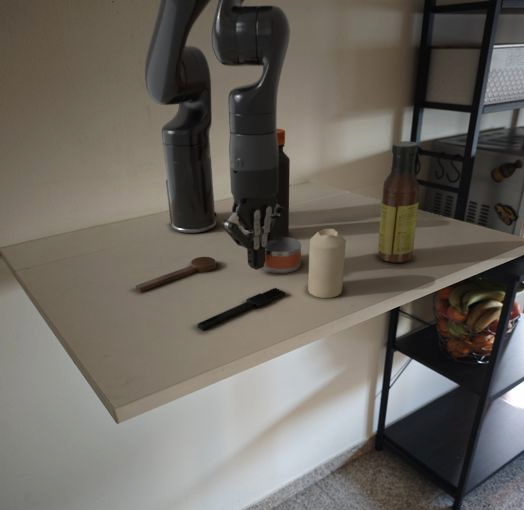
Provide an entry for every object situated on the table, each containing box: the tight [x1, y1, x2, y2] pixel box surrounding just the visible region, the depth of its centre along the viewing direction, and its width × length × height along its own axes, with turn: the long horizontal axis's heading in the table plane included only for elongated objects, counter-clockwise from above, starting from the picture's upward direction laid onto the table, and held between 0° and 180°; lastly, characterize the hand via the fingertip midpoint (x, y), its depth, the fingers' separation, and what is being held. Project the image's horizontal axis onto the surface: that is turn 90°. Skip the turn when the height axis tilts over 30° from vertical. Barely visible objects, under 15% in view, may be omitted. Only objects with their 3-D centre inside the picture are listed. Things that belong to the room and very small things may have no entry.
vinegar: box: [269, 128, 291, 237], centre depth 97 cm, size 7×7×20 cm
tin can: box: [262, 236, 302, 274], centre depth 89 cm, size 7×7×4 cm
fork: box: [196, 287, 286, 332], centre depth 76 cm, size 16×3×1 cm, turn 133°
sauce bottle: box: [377, 140, 420, 264], centre depth 86 cm, size 6×6×20 cm
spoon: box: [135, 256, 217, 293], centre depth 86 cm, size 16×4×1 cm, turn 133°
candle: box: [307, 228, 347, 299], centre depth 78 cm, size 6×6×10 cm
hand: (256, 267), depth 86 cm, fingers closed
